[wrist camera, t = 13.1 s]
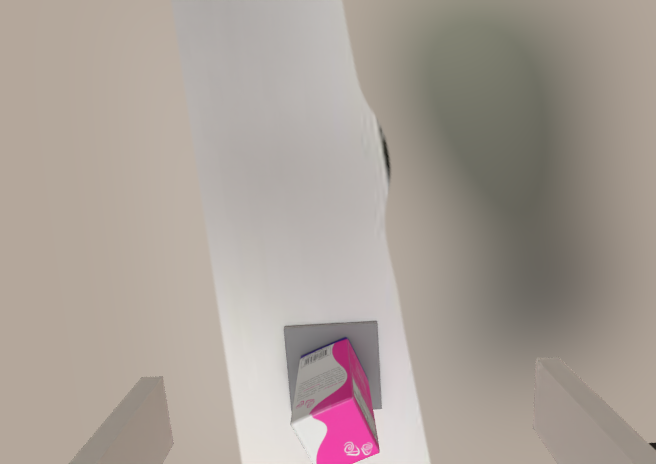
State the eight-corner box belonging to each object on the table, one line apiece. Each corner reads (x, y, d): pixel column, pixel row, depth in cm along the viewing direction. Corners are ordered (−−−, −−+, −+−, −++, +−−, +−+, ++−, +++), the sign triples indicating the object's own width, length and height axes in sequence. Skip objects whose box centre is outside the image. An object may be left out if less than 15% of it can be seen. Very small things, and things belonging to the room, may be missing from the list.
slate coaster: (284, 326, 45) (283, 328, 44) (376, 321, 45) (377, 323, 44) (292, 410, 47) (291, 413, 46) (381, 405, 46) (381, 409, 46)
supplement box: (322, 401, 46) (317, 480, 34) (299, 355, 45) (286, 421, 33) (370, 381, 45) (381, 455, 34) (348, 334, 44) (351, 394, 33)
